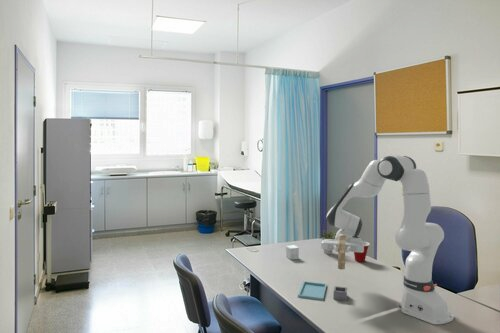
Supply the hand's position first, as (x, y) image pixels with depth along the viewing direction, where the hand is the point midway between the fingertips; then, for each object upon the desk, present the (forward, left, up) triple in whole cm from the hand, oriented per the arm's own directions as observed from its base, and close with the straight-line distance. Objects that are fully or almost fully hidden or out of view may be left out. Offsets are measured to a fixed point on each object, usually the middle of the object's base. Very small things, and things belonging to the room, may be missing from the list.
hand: (341, 250), depth 182 cm
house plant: (+57, -43, -25) cm, 75 cm away
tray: (+13, +6, -24) cm, 28 cm away
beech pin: (+1, -1, -9) cm, 9 cm away
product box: (+62, -17, -25) cm, 68 cm away
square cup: (+1, -1, -24) cm, 24 cm away
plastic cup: (+37, -51, -25) cm, 67 cm away
